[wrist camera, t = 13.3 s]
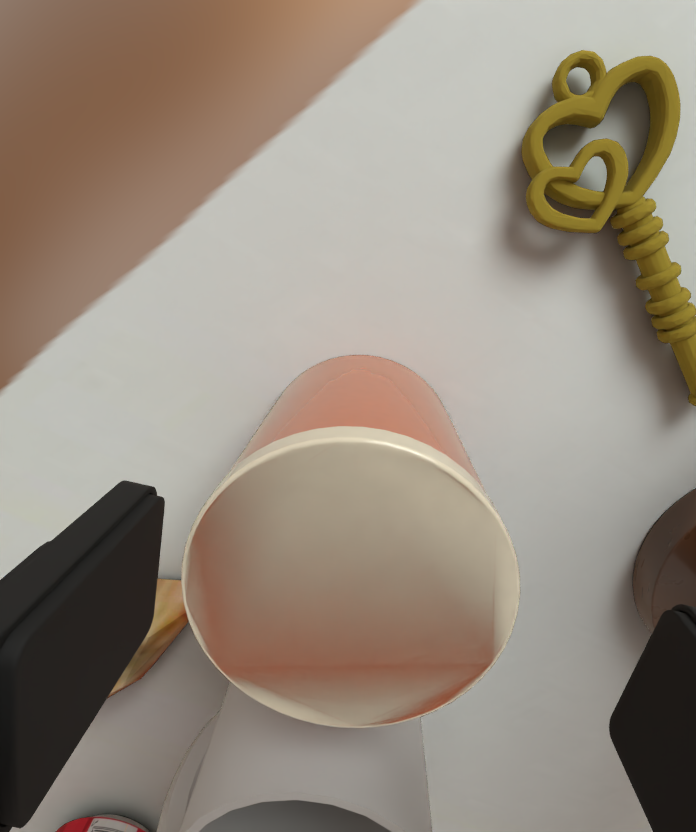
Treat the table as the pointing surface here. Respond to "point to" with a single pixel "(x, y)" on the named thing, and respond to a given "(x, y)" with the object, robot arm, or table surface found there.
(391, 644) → the tumbler
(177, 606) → the decorative stone
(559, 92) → the key
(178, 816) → the cup
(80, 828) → the beverage can
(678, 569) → the stand
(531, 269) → the table surface
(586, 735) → the table surface
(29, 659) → the robot arm
